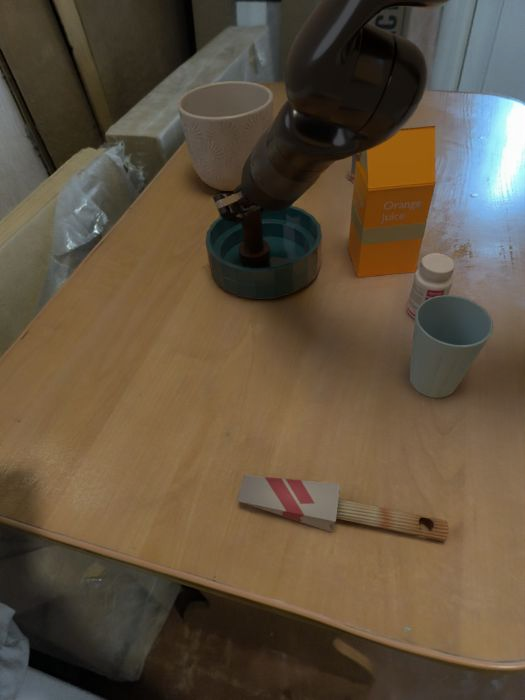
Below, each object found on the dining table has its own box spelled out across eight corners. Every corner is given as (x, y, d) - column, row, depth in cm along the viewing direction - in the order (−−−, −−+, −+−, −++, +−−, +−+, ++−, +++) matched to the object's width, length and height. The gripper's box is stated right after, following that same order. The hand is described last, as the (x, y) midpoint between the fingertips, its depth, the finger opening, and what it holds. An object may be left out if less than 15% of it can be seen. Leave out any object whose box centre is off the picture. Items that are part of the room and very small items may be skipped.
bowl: (315, 231, 77) (316, 199, 73) (325, 299, 66) (326, 266, 61) (215, 237, 78) (210, 206, 74) (207, 305, 67) (201, 273, 62)
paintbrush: (244, 463, 46) (449, 506, 43) (245, 475, 48) (441, 517, 45) (233, 499, 44) (450, 548, 40) (235, 510, 46) (442, 557, 42)
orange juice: (415, 272, 69) (446, 139, 54) (357, 278, 69) (372, 146, 54) (401, 242, 74) (426, 112, 59) (347, 247, 74) (358, 119, 59)
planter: (266, 154, 97) (261, 75, 86) (285, 193, 86) (283, 108, 75) (188, 167, 96) (172, 88, 84) (197, 209, 84) (181, 124, 73)
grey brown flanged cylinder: (270, 248, 72) (266, 183, 64) (270, 266, 69) (266, 201, 61) (240, 249, 73) (232, 185, 64) (239, 268, 70) (230, 203, 61)
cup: (390, 361, 58) (404, 300, 50) (448, 351, 58) (471, 289, 50) (413, 410, 53) (433, 351, 45) (476, 399, 53) (507, 339, 45)
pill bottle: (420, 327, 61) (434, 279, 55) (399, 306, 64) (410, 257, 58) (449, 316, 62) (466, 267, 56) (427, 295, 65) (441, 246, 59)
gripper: (324, 117, 52) (276, 175, 69) (213, 150, 48) (190, 203, 65) (347, 179, 53) (295, 222, 69) (240, 217, 49) (211, 252, 66)
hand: (244, 212), depth 67 cm, fingers closed on grey brown flanged cylinder, 3 cm apart
